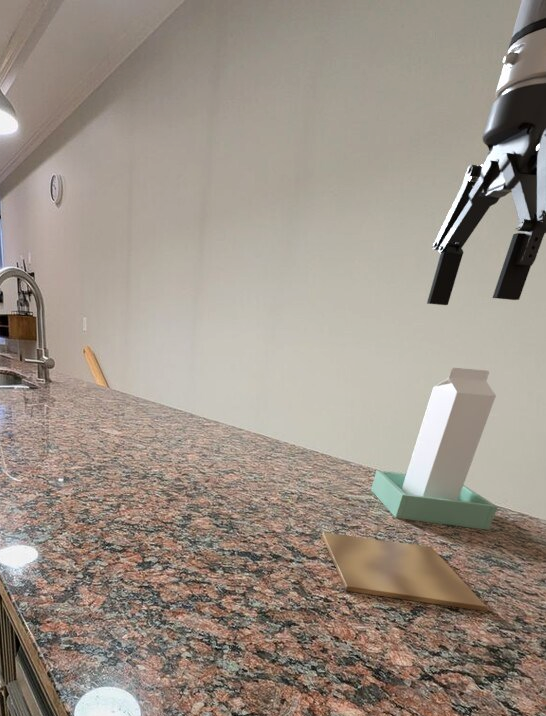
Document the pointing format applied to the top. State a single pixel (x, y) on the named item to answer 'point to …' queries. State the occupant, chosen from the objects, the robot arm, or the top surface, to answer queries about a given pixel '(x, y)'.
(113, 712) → the top surface
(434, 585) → the cork mat
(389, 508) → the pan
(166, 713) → the top surface
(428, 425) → the milk
